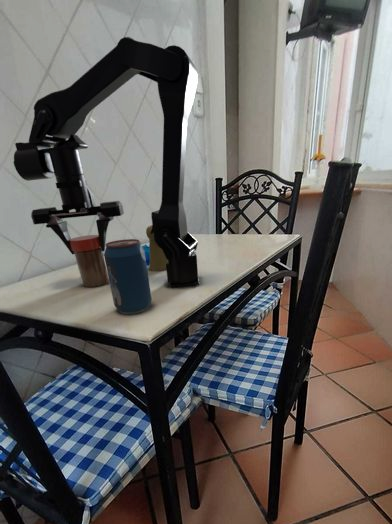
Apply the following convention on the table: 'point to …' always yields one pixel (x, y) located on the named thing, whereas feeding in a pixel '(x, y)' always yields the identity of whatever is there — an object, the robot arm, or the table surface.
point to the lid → (85, 243)
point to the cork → (155, 253)
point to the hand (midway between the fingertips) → (88, 252)
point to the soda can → (128, 275)
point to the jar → (92, 267)
